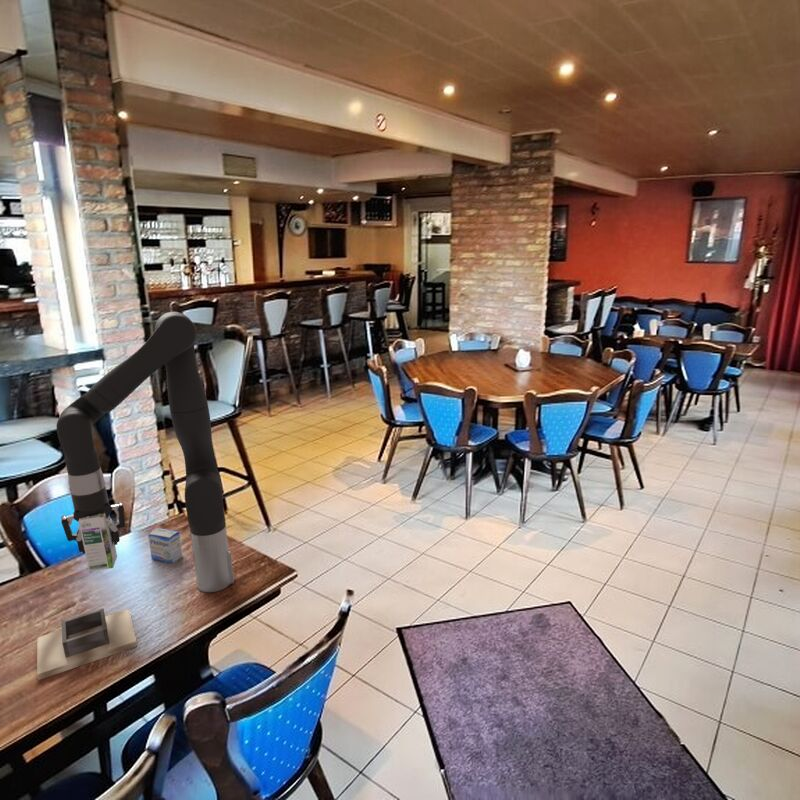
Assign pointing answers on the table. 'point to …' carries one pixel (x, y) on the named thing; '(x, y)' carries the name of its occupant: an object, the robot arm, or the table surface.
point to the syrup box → (97, 542)
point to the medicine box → (165, 545)
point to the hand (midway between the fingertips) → (100, 547)
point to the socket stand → (84, 641)
